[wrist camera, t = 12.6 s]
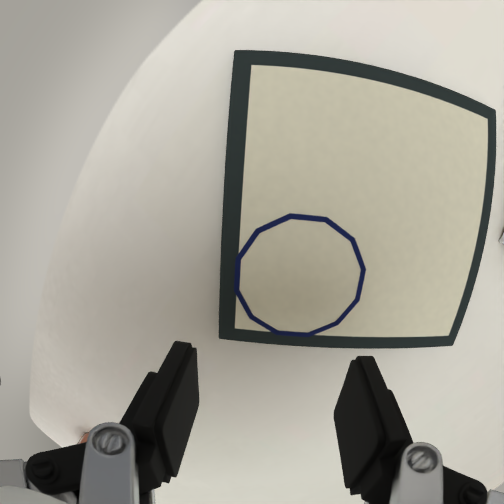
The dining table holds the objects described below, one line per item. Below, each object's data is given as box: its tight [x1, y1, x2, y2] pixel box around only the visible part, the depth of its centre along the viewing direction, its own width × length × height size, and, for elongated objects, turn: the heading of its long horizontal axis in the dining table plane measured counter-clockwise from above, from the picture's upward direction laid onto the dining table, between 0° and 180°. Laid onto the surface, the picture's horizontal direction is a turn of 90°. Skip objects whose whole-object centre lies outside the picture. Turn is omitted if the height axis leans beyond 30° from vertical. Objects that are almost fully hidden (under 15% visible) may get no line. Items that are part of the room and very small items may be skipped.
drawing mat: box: [219, 50, 496, 348], centre depth 15 cm, size 17×17×1 cm
